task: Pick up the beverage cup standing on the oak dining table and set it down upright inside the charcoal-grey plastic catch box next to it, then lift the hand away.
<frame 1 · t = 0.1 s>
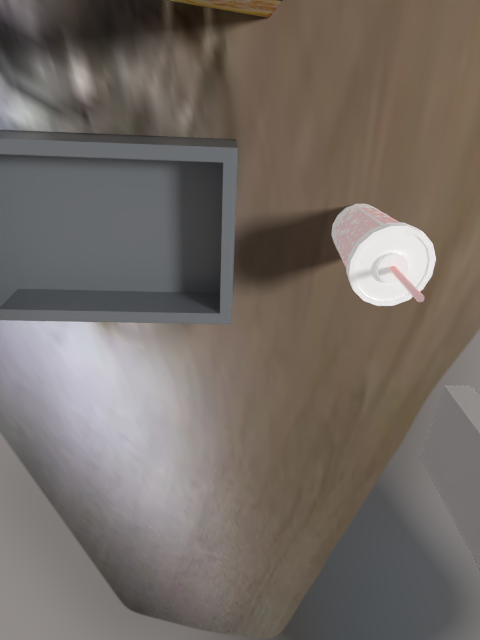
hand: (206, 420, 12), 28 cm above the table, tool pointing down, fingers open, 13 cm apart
beverage cup: (356, 228, 39), on the table
catch box: (116, 222, 38), on the table
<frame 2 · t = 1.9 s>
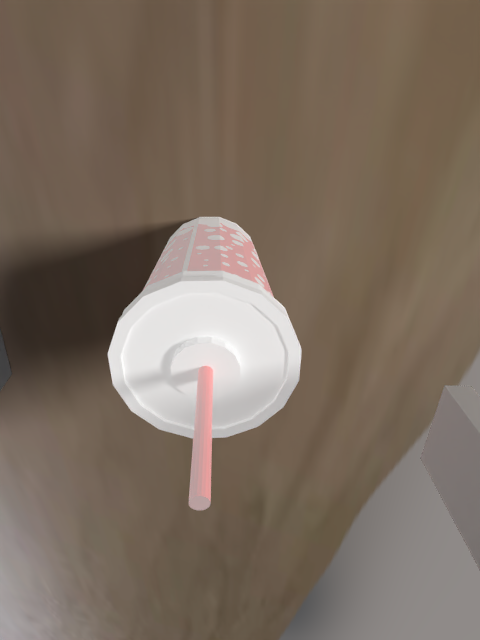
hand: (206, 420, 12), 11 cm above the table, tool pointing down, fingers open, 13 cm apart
beverage cup: (211, 260, 22), on the table
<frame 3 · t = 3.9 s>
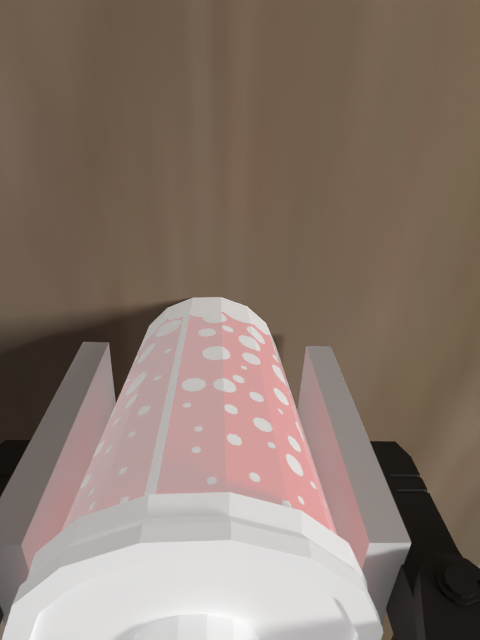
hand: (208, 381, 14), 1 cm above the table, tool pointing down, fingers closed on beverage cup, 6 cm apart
beverage cup: (209, 353, 15), on the table, touching gripper
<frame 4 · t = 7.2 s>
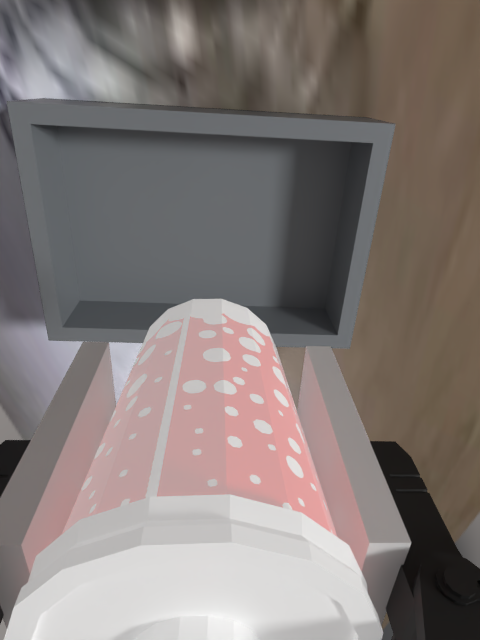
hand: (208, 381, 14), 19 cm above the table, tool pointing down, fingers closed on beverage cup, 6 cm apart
beverage cup: (209, 354, 15), point 17 cm above the table, touching gripper
catch box: (206, 220, 30), on the table
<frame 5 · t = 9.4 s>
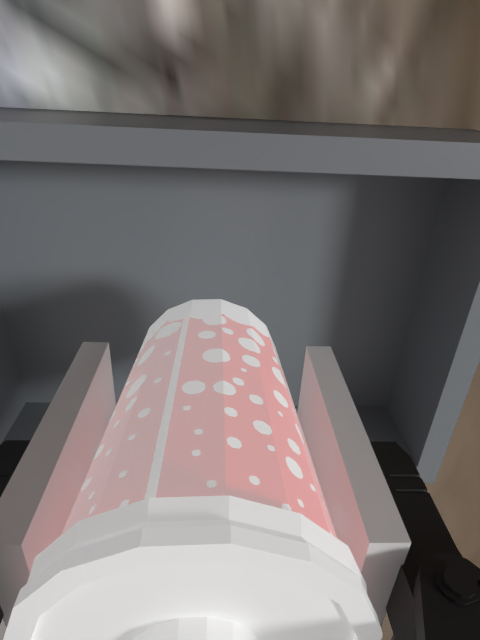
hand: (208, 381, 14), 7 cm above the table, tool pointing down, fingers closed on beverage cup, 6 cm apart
beverage cup: (209, 355, 15), point 5 cm above the table, touching gripper
catch box: (212, 286, 20), on the table
when the fingers open (4 cm above the table, at t = 10.9 s): beverage cup drops 1 cm, resting on catch box.
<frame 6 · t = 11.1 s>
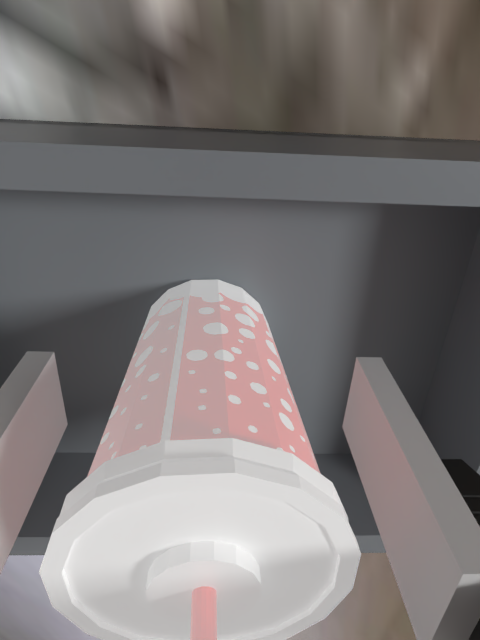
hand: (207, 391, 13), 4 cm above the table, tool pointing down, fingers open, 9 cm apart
beverage cup: (206, 332, 16), point 1 cm above the table, touching catch box
catch box: (210, 322, 17), on the table
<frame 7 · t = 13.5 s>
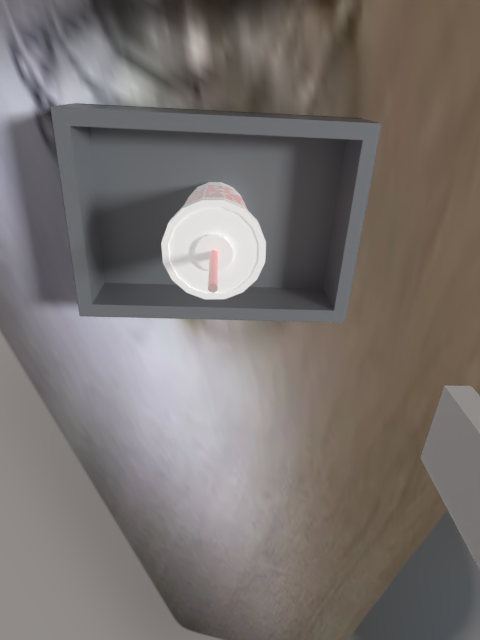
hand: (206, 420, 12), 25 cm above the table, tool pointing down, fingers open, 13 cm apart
beverage cup: (215, 212, 33), point 1 cm above the table, touching catch box
catch box: (217, 210, 34), on the table
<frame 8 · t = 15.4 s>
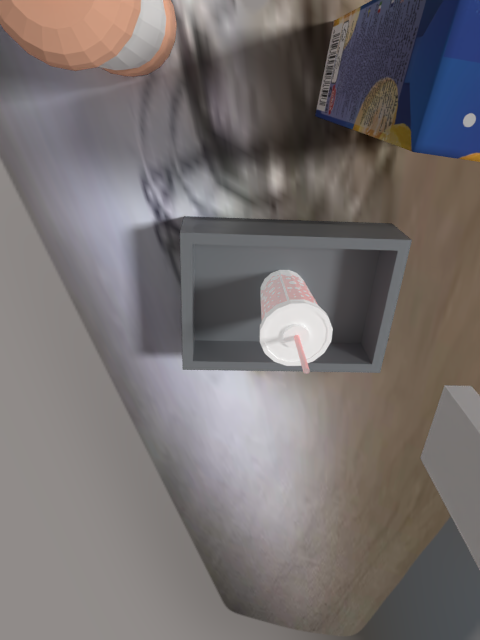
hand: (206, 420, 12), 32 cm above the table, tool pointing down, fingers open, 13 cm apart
beverage cup: (282, 289, 44), point 1 cm above the table, touching catch box
beverage box: (386, 80, 37), on the table
pepper shaker: (129, 23, 34), on the table
catch box: (282, 287, 45), on the table
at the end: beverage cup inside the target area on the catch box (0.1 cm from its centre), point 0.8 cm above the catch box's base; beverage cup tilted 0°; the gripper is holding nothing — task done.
